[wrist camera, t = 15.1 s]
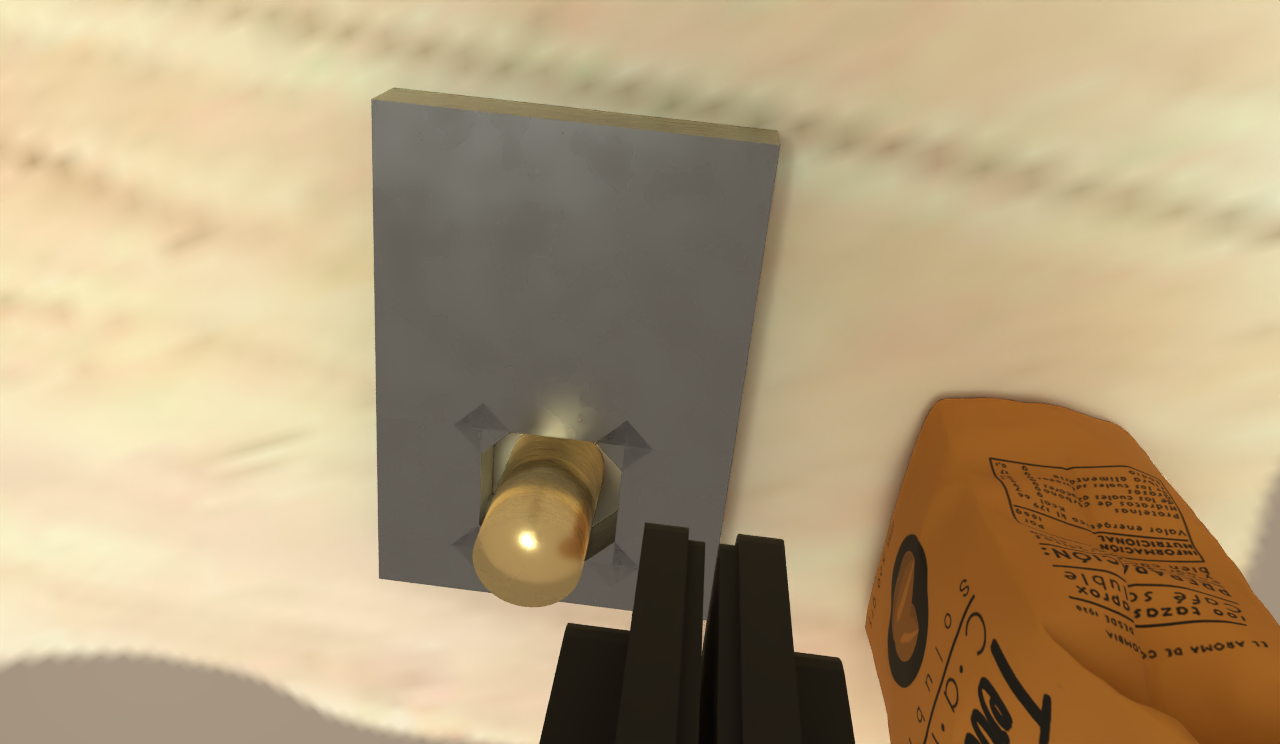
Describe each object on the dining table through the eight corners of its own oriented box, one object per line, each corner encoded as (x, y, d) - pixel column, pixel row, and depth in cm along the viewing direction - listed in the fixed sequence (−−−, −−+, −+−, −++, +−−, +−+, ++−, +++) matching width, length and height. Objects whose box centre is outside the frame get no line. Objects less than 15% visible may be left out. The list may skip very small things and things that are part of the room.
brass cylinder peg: (512, 418, 42) (474, 507, 36) (607, 430, 42) (586, 522, 36) (508, 499, 44) (470, 599, 37) (599, 511, 44) (577, 613, 37)
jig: (393, 87, 37) (371, 99, 34) (776, 130, 36) (780, 145, 34) (396, 545, 45) (379, 578, 43) (708, 584, 45) (707, 620, 42)
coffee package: (823, 606, 45) (900, 1165, 25) (923, 358, 40) (1124, 812, 20) (1038, 660, 45) (1286, 1256, 25) (1166, 422, 40) (1607, 934, 20)
